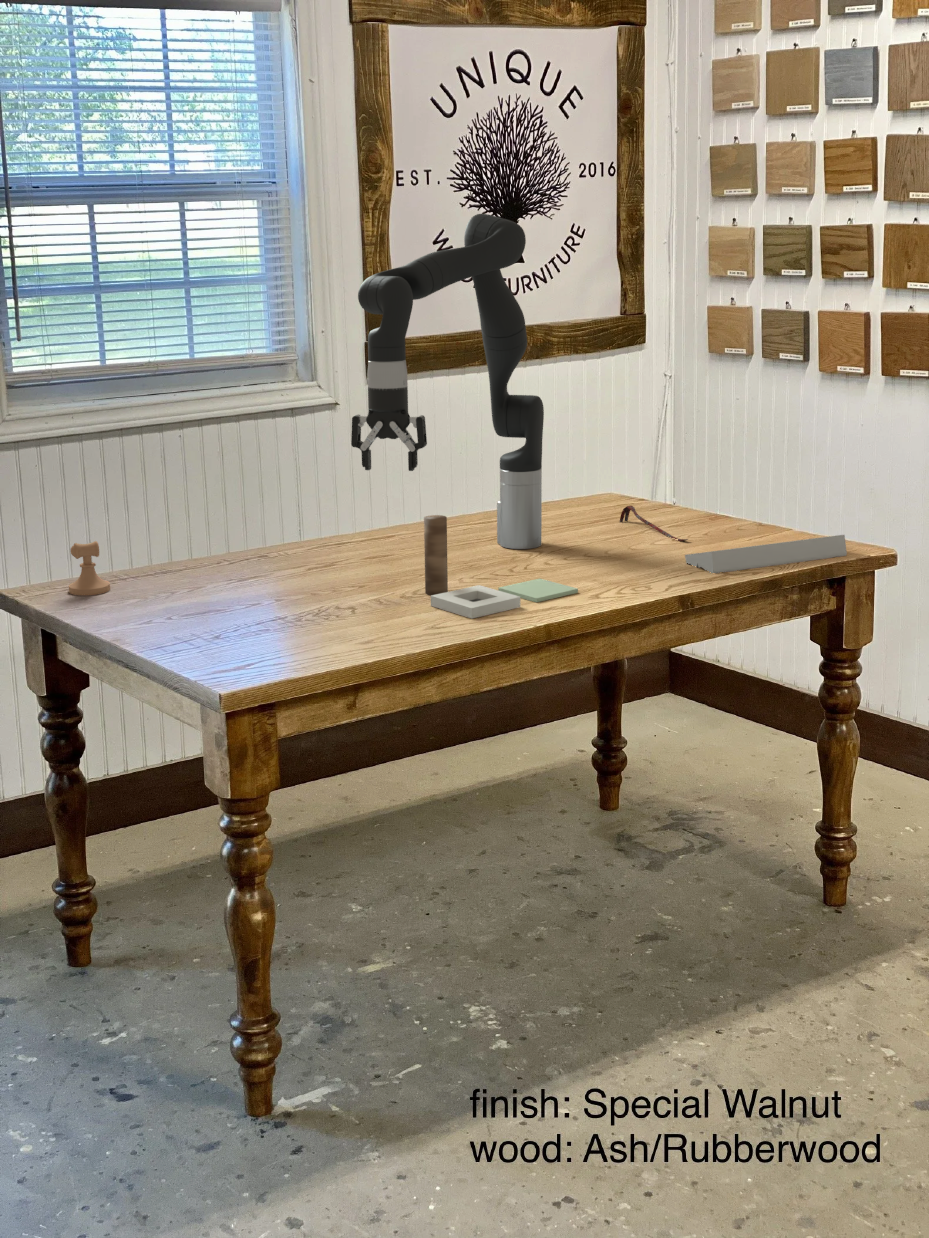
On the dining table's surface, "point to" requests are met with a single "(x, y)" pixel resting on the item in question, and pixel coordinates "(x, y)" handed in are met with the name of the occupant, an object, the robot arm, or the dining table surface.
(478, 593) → the hole plate
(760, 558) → the decorative molding
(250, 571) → the dining table surface
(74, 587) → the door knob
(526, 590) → the pad
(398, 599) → the dining table surface
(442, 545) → the walnut post
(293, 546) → the dining table surface
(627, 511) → the crowbar
